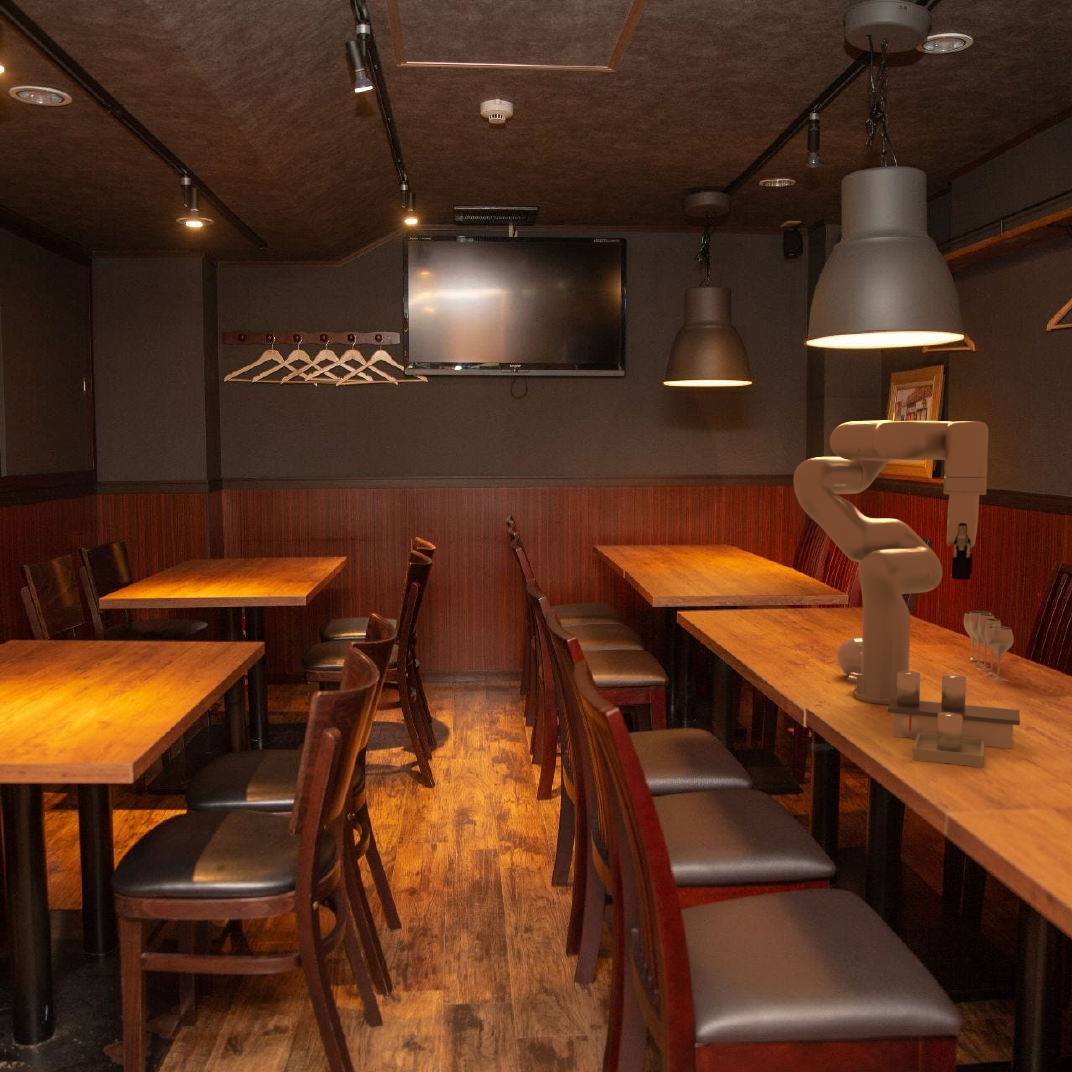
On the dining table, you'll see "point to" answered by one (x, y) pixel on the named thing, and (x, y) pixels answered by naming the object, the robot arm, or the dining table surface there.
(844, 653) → the potion bottle
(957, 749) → the cylinder
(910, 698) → the left steel weight
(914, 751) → the grey square tray
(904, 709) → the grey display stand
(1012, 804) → the dining table surface
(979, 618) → the goblet set
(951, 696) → the knob
